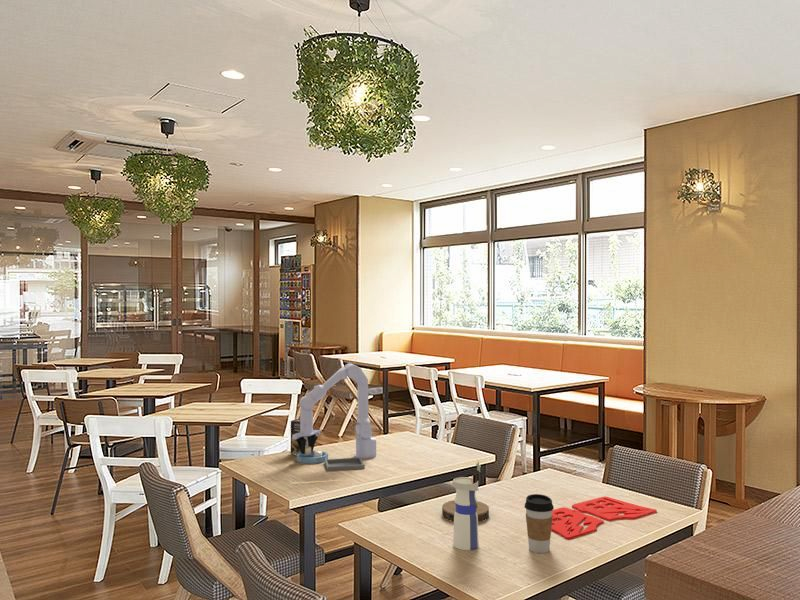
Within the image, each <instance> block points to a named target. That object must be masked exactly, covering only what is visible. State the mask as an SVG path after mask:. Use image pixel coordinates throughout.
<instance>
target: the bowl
mask: <svg viewBox="0 0 800 600" xmlns="http://www.w3.org/2000/svg"><path fill="white" fill-rule="evenodd" d="M314 451H315V450H313V452H314ZM321 451H322V456H321V457H314V454H313V452H311V455H307V456H305V455H302V454H301V452H300V453H298V454H297V455H296V462H298V463H300V464H305V465H306V464H309V465H311V464H322V463H325V459H329V453H328V452H327V451H323V450H321Z"/></svg>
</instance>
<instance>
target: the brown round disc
mask: <svg viewBox="0 0 800 600" xmlns="http://www.w3.org/2000/svg"><path fill="white" fill-rule="evenodd" d="M441 511H442V512H441V513H442V514H441V515H443V516H442V517H443V518H444V519H446V520H447V519H448V521H450V520H451V521H450V522H453V521H454V514H455V511H456V503H455V502H454V499H453V500H450V501H447V502H444V503H443V504H442V509H441ZM489 511H490V508H489V505H488V504H486V503H484V502H482V501H478V509H477V510H476V512H477V515H478V521H481V522H484V521H486V520H487V519H488V518H490V517H489V515H490V512H489ZM485 519H486V520H485ZM483 520H484V521H483Z"/></svg>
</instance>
